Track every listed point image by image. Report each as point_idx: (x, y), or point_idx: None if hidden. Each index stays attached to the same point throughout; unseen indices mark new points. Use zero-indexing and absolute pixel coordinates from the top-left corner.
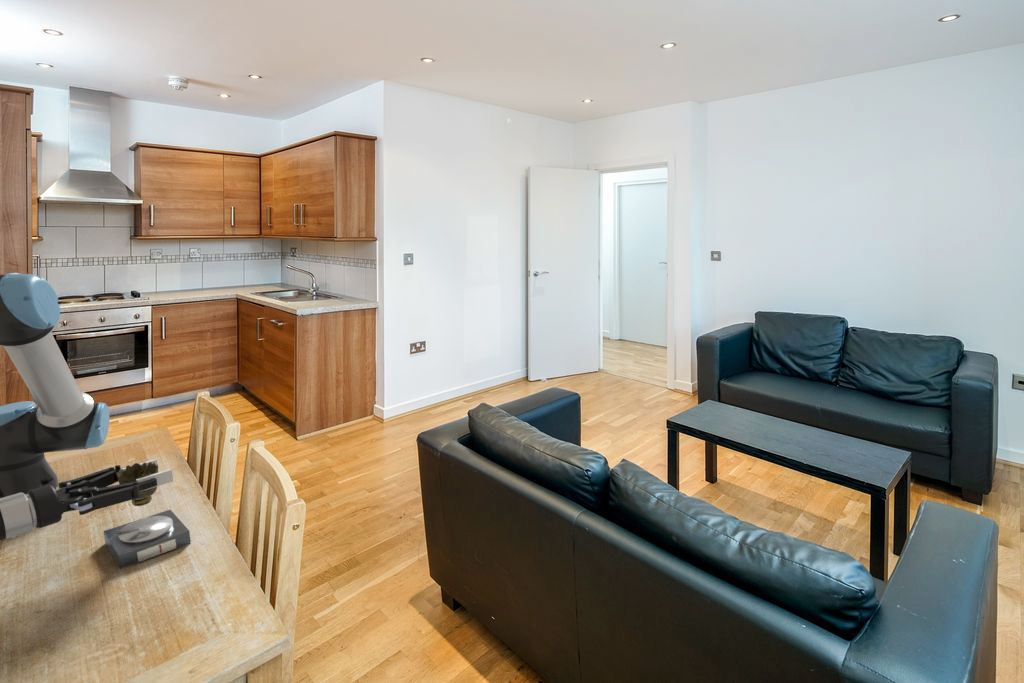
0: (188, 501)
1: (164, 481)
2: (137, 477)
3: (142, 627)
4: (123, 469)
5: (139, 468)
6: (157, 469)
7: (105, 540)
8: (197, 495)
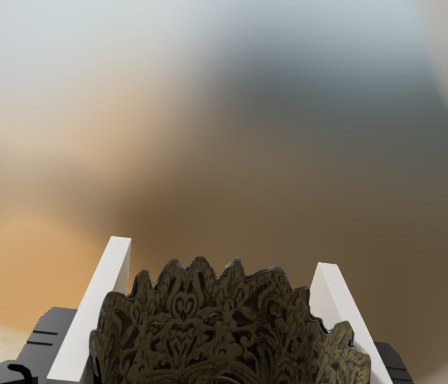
0: None
1: None
2: (119, 381)
3: None
4: (77, 380)
5: (125, 320)
6: (287, 286)
7: None
8: (6, 329)
